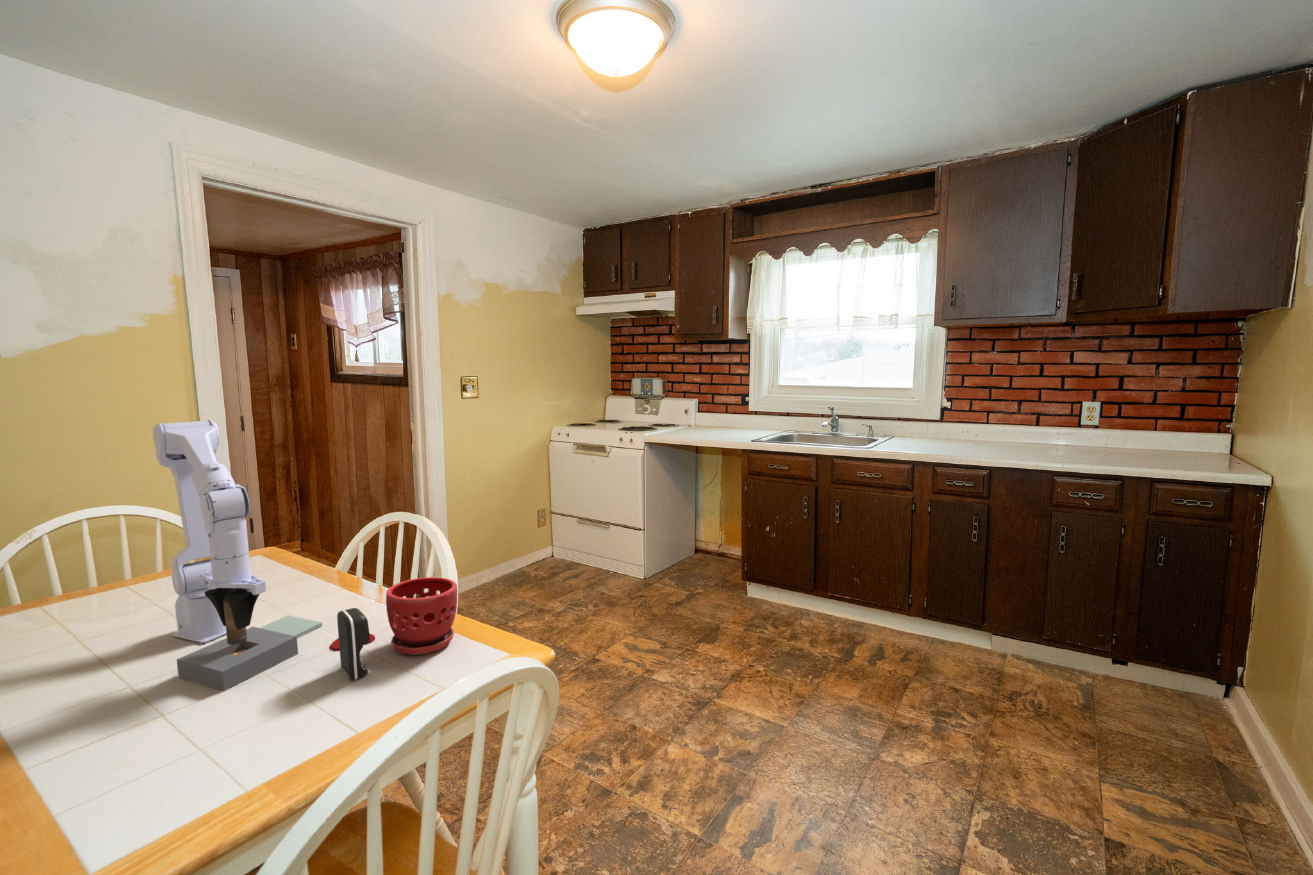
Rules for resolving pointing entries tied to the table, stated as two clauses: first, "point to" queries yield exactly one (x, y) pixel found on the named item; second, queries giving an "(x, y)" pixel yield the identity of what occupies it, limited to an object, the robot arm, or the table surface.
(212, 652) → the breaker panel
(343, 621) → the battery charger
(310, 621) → the pad
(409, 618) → the plant pot
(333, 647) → the lollipop
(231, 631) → the brown cylinder
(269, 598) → the table surface
